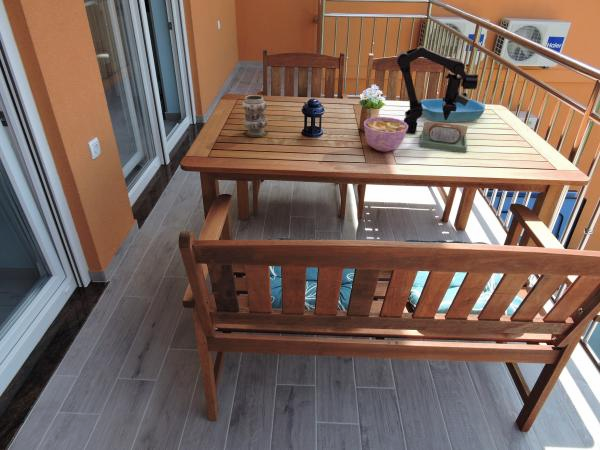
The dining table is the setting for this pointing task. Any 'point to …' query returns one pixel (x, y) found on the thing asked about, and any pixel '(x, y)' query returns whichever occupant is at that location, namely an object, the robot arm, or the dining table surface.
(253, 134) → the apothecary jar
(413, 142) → the dining table surface
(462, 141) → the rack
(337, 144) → the dining table surface
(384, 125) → the bowl of food
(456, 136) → the tin
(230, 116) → the dining table surface
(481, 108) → the casserole dish
